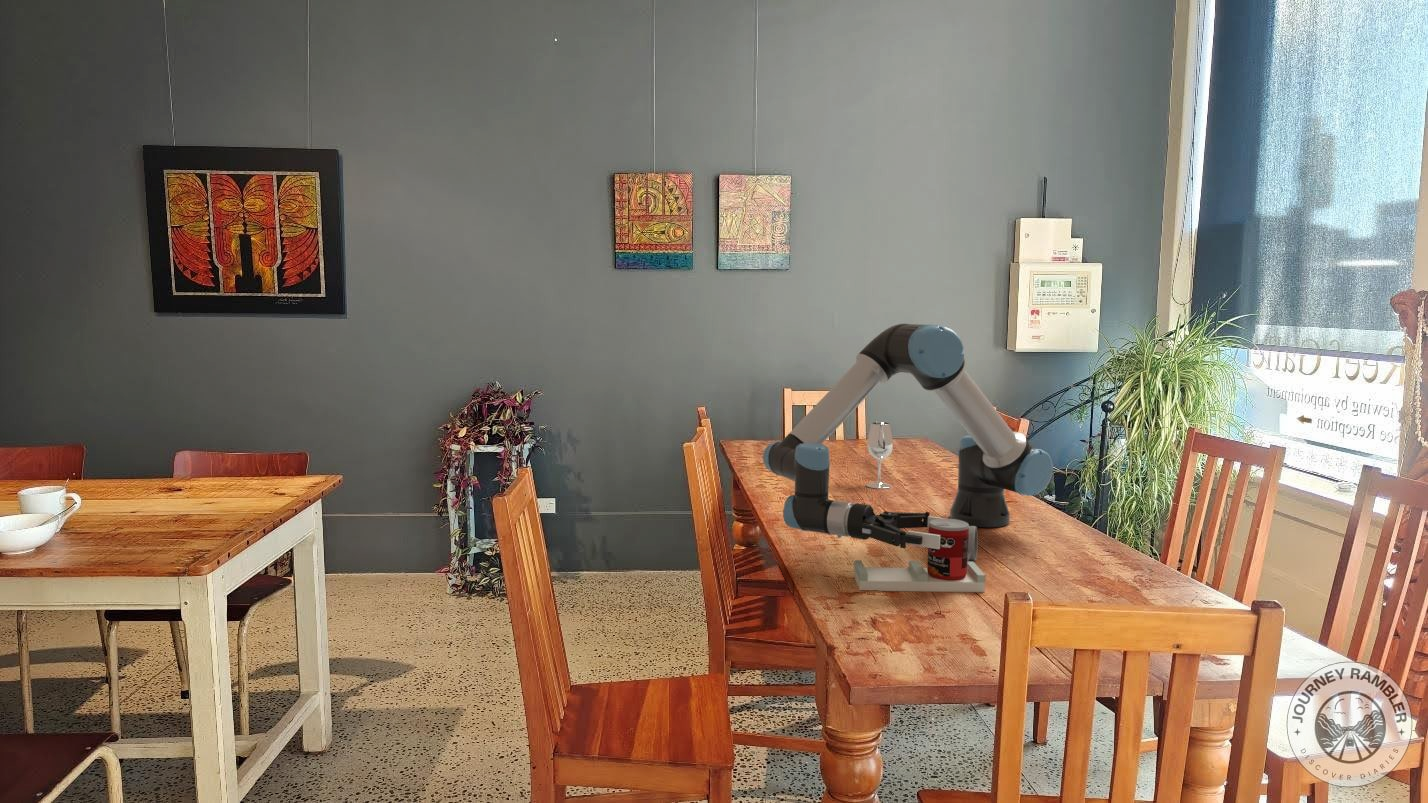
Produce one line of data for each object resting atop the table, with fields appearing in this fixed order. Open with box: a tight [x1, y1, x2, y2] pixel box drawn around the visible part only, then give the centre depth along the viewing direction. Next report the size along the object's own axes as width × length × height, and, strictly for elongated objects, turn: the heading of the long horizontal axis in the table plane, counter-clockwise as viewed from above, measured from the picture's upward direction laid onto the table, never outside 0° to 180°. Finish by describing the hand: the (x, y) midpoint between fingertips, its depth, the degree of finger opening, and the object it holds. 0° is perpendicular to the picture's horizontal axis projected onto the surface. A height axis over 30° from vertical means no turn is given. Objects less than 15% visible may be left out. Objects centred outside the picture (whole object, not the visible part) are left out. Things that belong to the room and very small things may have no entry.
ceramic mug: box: [967, 526, 979, 562], centre depth 193 cm, size 11×8×8 cm
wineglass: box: [866, 421, 894, 490], centre depth 268 cm, size 8×8×20 cm
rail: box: [853, 559, 986, 593], centre depth 177 cm, size 25×9×4 cm, turn 88°
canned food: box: [926, 517, 969, 580], centre depth 176 cm, size 8×8×11 cm
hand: (949, 534), depth 176 cm, fingers open, 13 cm apart
